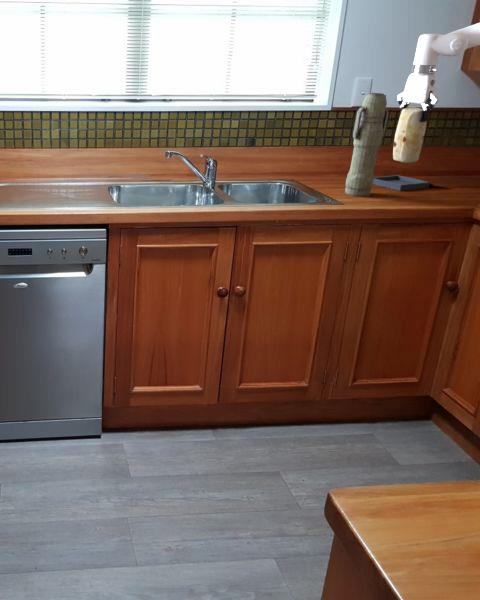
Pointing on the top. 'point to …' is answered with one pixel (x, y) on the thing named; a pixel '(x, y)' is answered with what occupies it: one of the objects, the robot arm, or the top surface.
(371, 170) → the thermos
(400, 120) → the food model
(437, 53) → the robot arm
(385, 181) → the tray
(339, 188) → the top surface
